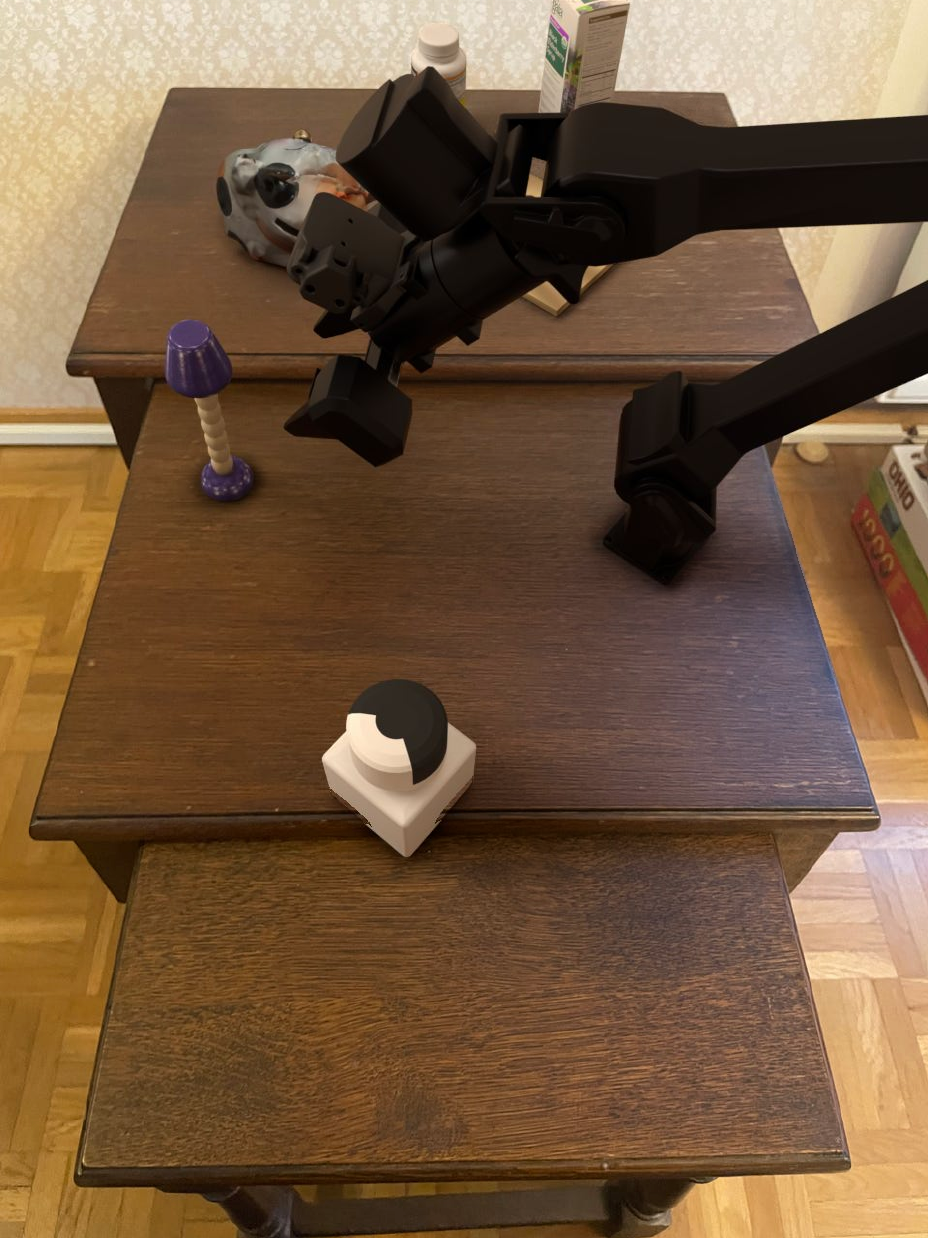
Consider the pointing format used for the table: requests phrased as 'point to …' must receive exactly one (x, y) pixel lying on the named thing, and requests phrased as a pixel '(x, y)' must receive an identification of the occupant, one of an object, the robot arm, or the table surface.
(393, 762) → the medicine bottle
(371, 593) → the table surface
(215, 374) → the toy lamp
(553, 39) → the syrup box
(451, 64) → the supplement bottle
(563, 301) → the mat
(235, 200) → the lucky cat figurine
